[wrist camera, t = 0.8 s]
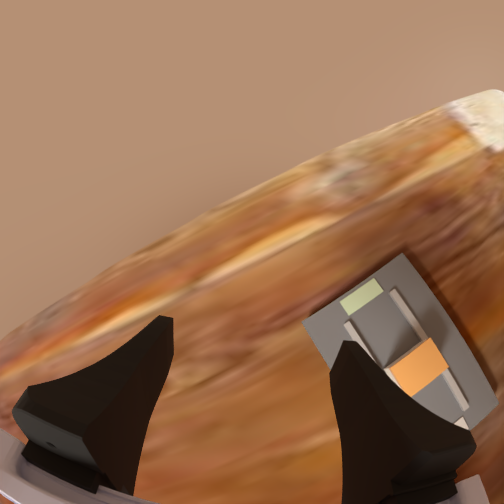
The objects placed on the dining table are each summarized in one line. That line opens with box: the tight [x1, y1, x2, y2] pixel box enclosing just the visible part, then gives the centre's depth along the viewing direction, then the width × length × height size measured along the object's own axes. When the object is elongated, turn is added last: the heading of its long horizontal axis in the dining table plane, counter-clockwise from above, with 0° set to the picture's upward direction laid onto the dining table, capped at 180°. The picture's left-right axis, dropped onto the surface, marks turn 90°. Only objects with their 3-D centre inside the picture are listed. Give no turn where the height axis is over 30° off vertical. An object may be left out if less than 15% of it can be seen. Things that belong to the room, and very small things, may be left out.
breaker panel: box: [302, 253, 499, 431], centre depth 23 cm, size 19×12×3 cm, turn 29°
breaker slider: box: [384, 337, 449, 397], centre depth 20 cm, size 3×4×4 cm
